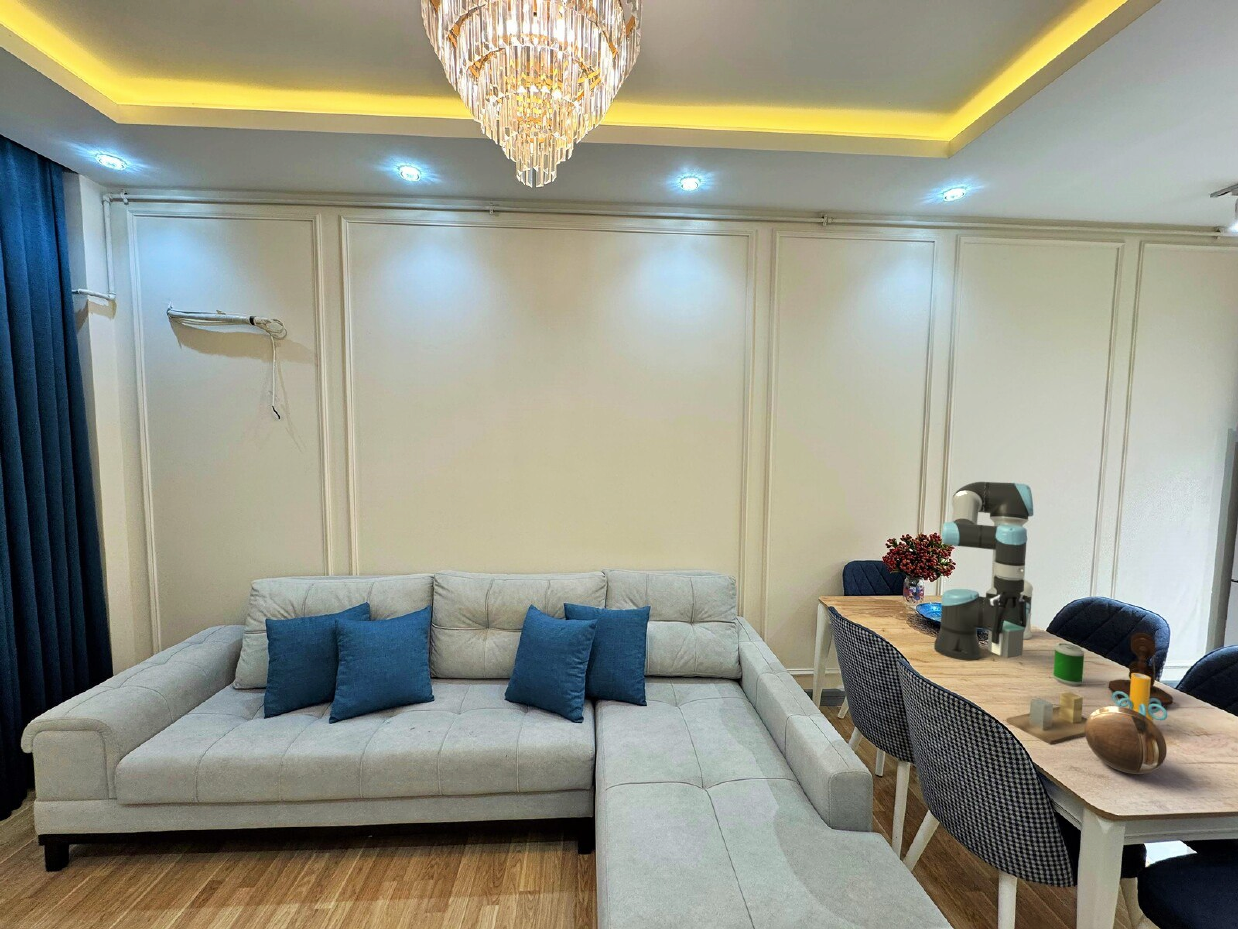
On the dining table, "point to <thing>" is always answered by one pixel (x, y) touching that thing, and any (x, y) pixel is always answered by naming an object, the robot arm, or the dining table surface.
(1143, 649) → the turned wooden candlestick
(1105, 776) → the dining table surface
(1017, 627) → the grey teal-topped block
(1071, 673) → the soda can
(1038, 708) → the steel post
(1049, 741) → the walnut board
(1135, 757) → the bronze metallic ball
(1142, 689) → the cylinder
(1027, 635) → the vodka
